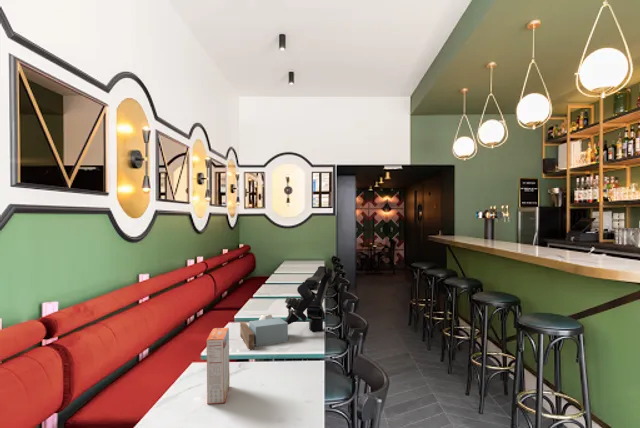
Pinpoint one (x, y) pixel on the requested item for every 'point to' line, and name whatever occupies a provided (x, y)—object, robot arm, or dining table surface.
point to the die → (265, 316)
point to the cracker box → (217, 365)
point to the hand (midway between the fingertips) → (284, 325)
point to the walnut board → (247, 335)
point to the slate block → (269, 331)
